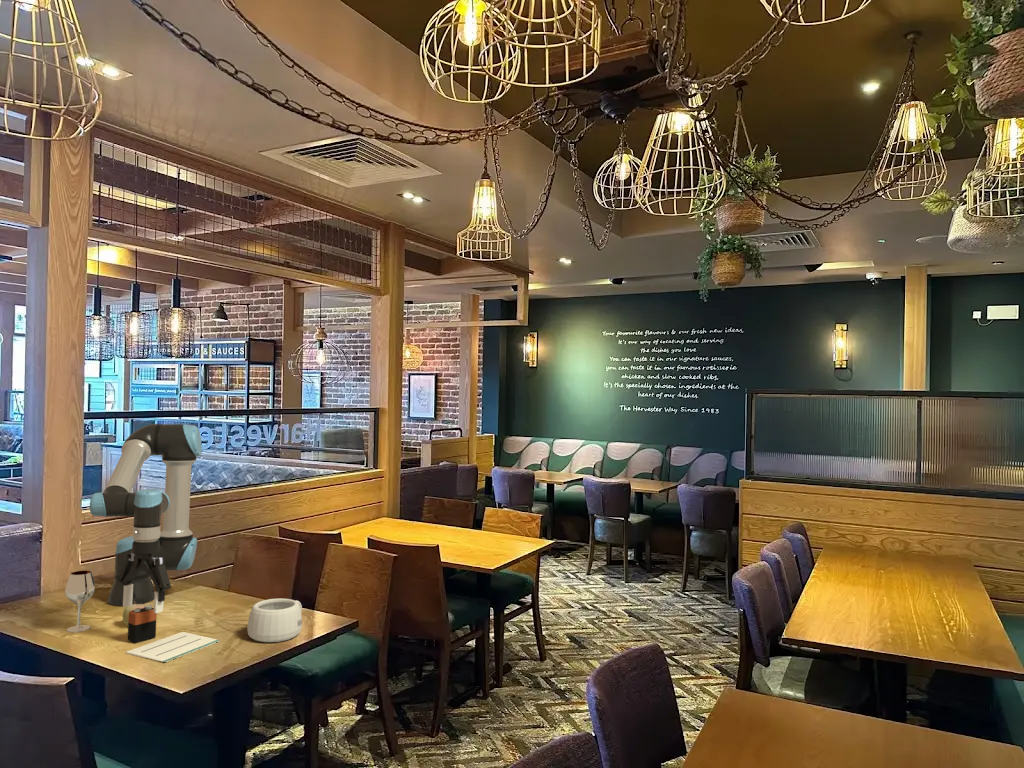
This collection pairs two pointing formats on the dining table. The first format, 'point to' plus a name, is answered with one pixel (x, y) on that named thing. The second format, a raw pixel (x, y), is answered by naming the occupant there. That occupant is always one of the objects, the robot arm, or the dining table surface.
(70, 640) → the dining table surface
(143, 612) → the battery
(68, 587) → the wineglass
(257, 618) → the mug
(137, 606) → the fruit
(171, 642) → the order pad
